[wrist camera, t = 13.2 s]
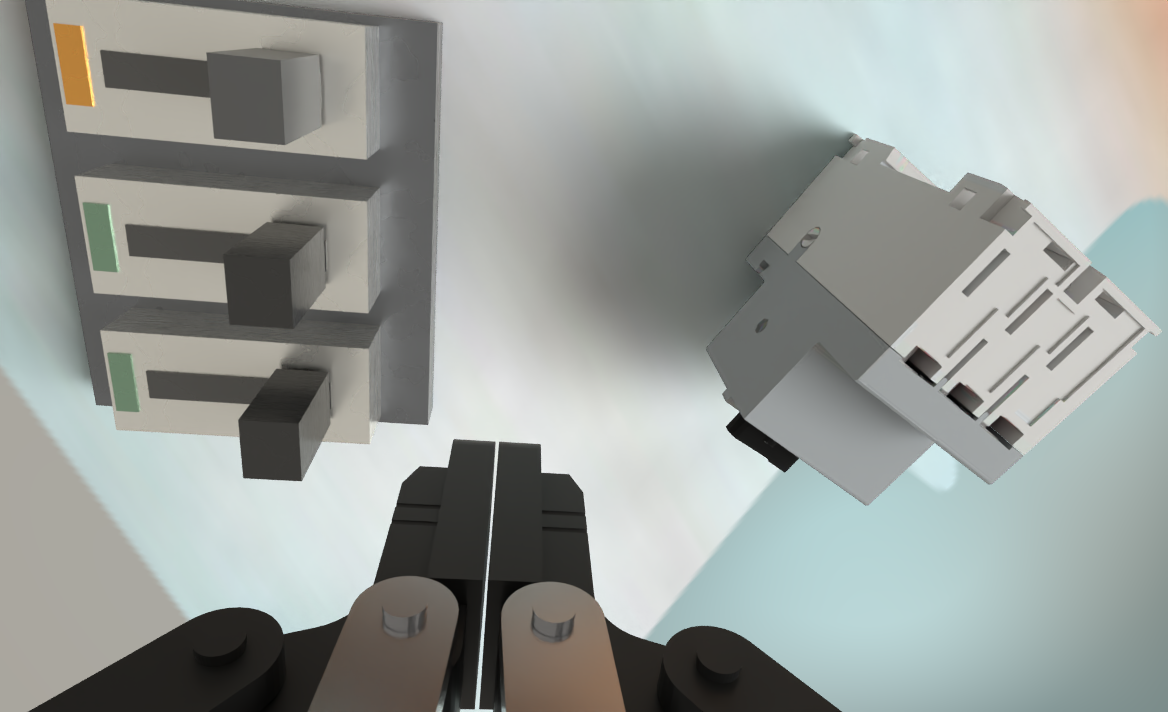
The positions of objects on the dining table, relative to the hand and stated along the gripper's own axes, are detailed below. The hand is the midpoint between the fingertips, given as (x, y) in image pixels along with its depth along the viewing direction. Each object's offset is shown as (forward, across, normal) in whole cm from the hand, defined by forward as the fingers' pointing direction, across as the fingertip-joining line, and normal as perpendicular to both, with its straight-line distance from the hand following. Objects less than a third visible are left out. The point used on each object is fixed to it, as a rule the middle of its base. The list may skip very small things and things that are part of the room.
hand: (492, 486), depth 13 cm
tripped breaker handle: (+22, +9, -4) cm, 24 cm away
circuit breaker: (+27, -16, +4) cm, 32 cm away
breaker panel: (+27, +12, +3) cm, 30 cm away
